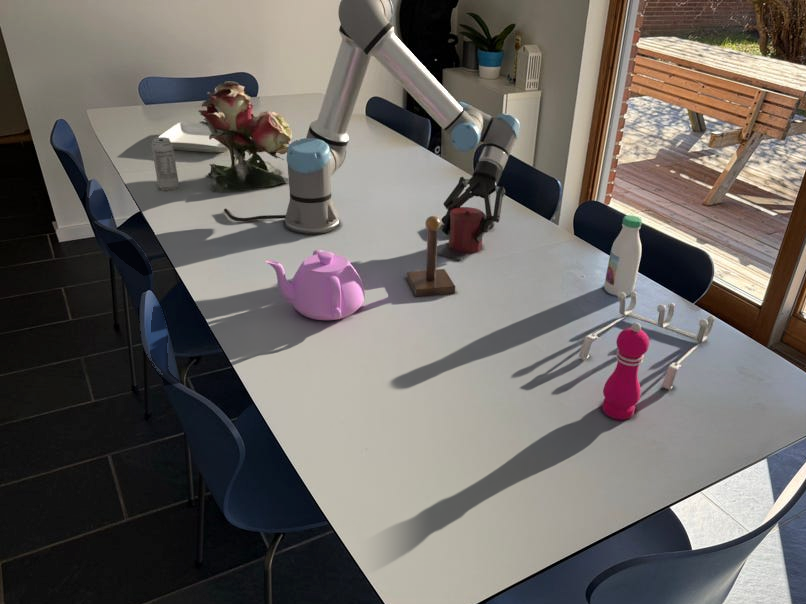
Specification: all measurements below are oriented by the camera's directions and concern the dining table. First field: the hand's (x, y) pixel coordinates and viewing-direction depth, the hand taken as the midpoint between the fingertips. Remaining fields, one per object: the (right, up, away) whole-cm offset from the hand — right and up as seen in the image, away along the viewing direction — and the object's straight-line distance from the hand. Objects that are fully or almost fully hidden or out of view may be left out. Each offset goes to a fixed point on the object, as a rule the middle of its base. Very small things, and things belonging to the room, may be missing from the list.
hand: (460, 236), depth 201 cm
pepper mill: (+33, -45, -57) cm, 79 cm away
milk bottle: (+42, -16, -12) cm, 46 cm away
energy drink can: (-93, +20, +27) cm, 98 cm away
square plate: (-97, +46, +66) cm, 126 cm away
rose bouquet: (-72, +27, +40) cm, 87 cm away
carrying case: (+2, +5, +16) cm, 17 cm away
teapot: (-33, -23, -32) cm, 51 cm away
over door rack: (+44, -32, -36) cm, 65 cm away
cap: (0, -3, +3) cm, 4 cm away
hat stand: (-7, -15, -17) cm, 24 cm away
